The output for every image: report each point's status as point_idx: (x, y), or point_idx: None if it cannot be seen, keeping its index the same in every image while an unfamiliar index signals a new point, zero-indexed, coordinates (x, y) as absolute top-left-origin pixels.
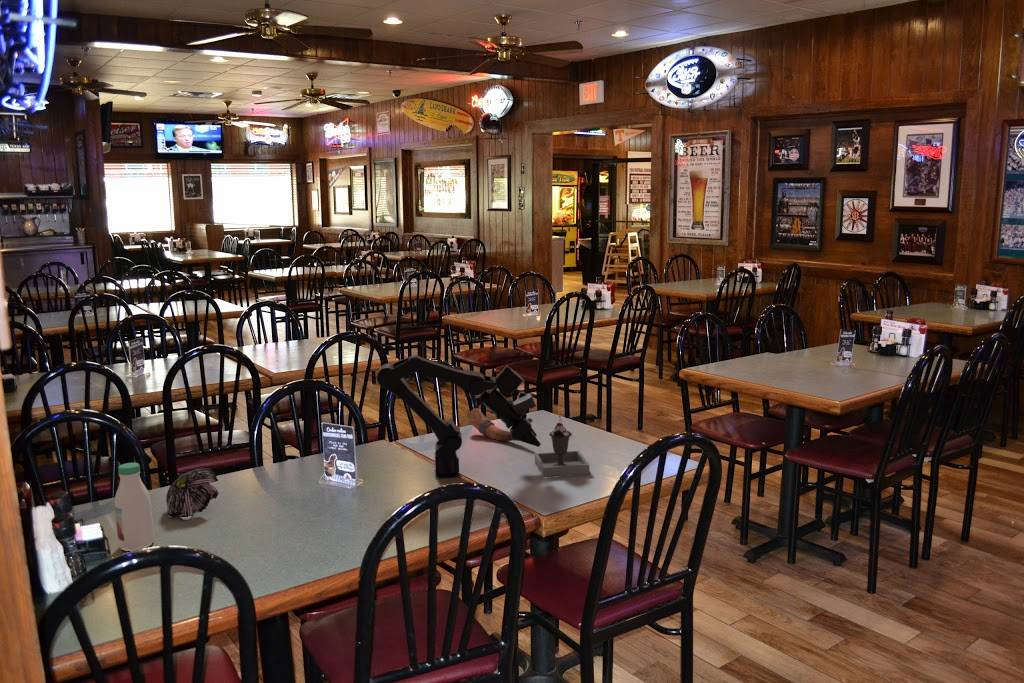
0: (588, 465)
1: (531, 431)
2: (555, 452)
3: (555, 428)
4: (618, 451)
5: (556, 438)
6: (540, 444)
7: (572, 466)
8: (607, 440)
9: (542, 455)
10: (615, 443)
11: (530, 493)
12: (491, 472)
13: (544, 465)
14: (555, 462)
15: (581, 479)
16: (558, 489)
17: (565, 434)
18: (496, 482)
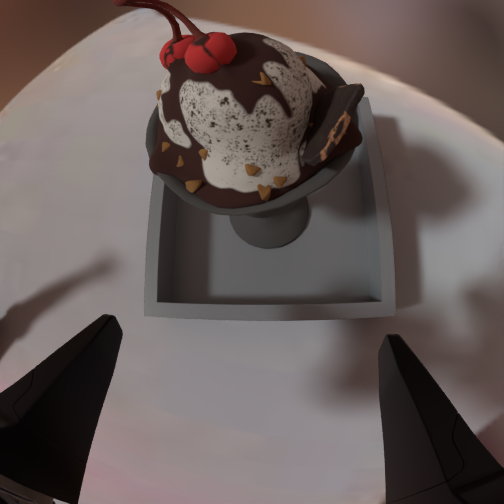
0: (368, 102)
1: (458, 472)
2: (282, 212)
3: (271, 111)
4: (148, 37)
5: (327, 163)
6: (397, 337)
7: (382, 164)
8: (66, 68)
9: (162, 277)
10: (92, 50)
11: (501, 372)
12: (254, 498)
13: (362, 303)
14: (204, 222)
15: (409, 161)
16: (492, 270)
17: (314, 75)
18: (373, 488)
